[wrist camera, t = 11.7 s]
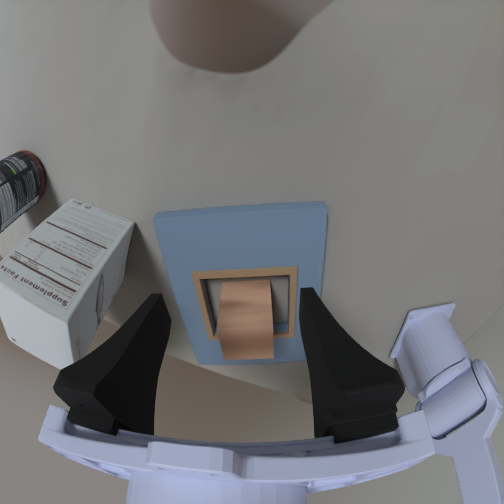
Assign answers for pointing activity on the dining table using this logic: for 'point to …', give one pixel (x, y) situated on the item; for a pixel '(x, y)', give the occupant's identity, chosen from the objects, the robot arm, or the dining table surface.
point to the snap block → (246, 320)
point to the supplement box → (63, 281)
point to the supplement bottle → (19, 185)
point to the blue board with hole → (242, 264)
